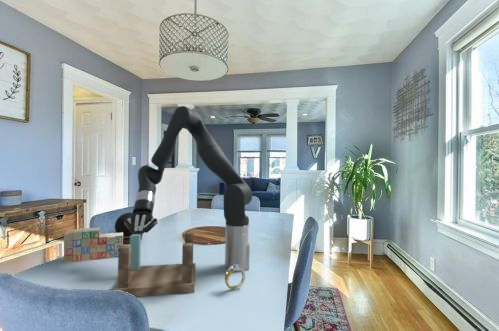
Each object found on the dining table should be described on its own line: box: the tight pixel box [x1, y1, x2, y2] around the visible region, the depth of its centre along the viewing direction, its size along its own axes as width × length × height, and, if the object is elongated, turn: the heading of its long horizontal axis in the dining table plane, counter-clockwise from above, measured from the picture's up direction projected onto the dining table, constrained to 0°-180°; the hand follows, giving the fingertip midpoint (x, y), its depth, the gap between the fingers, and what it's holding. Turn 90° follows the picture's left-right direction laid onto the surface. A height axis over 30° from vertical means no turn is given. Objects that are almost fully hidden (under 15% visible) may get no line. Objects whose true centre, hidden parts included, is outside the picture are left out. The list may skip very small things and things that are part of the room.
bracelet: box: [224, 264, 246, 291], centre depth 84 cm, size 7×3×8 cm, turn 114°
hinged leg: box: [129, 234, 142, 270], centre depth 93 cm, size 3×3×12 cm
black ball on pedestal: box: [114, 212, 135, 245], centre depth 134 cm, size 13×13×15 cm
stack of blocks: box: [63, 227, 123, 264], centre depth 110 cm, size 21×6×12 cm, turn 113°
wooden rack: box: [112, 232, 197, 297], centre depth 88 cm, size 24×18×14 cm
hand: (136, 241), depth 95 cm, fingers closed
